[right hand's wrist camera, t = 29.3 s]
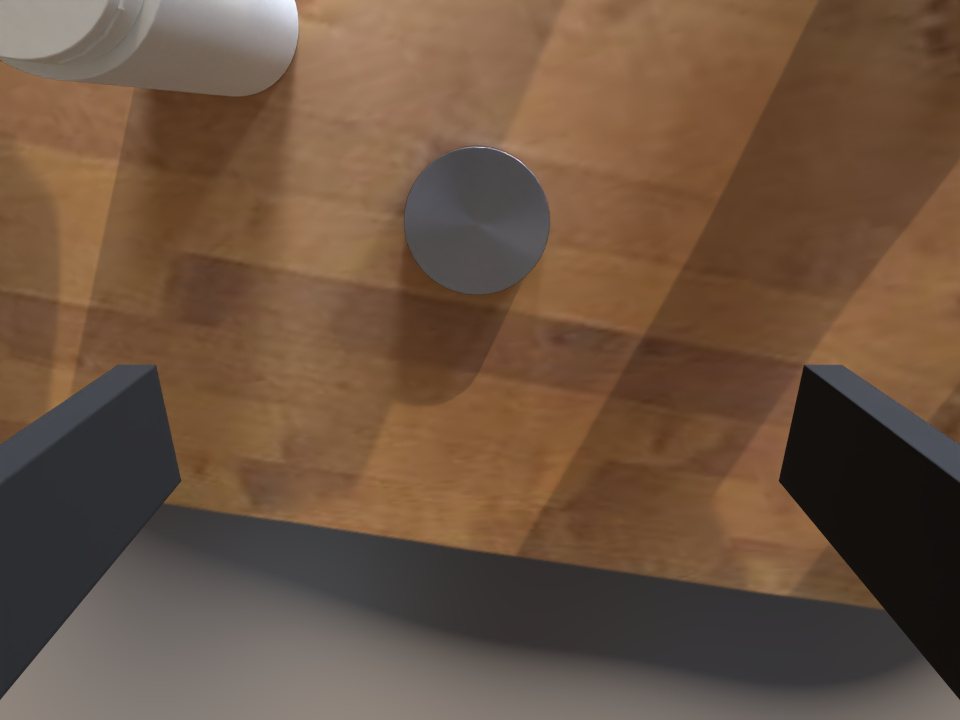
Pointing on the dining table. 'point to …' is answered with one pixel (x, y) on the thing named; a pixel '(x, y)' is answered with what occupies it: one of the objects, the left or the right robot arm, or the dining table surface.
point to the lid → (476, 220)
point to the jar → (153, 42)
